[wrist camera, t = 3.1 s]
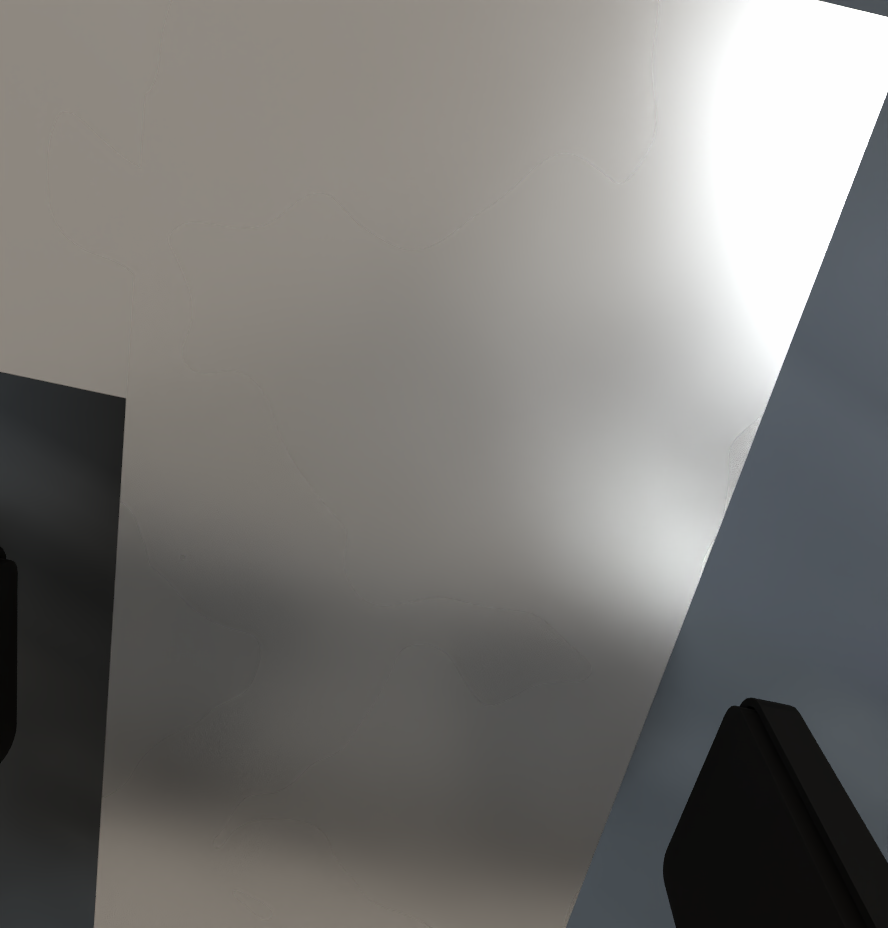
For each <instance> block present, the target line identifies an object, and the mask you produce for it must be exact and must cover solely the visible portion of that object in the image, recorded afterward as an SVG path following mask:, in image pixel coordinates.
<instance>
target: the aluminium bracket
mask: <svg viewBox="0 0 888 928" xmlns="http://www.w3.org/2000/svg"><path fill="white" fill-rule="evenodd" d="M887 91H888V17H884V16H880V15H876V14H872V13H868V12H863V11H859V10H855V9H851V8H847V7H843V6H839V5H834V4H830V3H826V2H822V1H818V0H0V372H4V373H9V374H14V375H18V376H23V377H28V378H32V379H37V380H42V381H47V382H51V383H56V384H61V385H66V386H70V387H75V388H80V389H85V390H89V391H94V392H99V393H104V394H108V395H113V396H118V397H122V398H126V410H125V426H124V443H123V459H122V476H121V492H120V508H119V525H118V541H117V558H116V574H115V591H114V607H113V623H112V640H111V656H110V673H109V689H108V705H107V722H106V738H105V755H104V771H103V788H102V804H101V820H100V837H99V853H98V870H97V886H96V902H95V919H94V928H566V925H567V923H568V920H569V917H570V915H571V912H572V910H573V907H574V904H575V902H576V899H577V897H578V894H579V891H580V889H581V886H582V884H583V881H584V878H585V876H586V873H587V871H588V868H589V865H590V863H591V860H592V858H593V855H594V852H595V850H596V847H597V845H598V842H599V839H600V837H601V834H602V832H603V829H604V826H605V824H606V821H607V819H608V816H609V813H610V811H611V808H612V806H613V803H614V800H615V798H616V795H617V793H618V790H619V787H620V785H621V782H622V780H623V777H624V774H625V772H626V769H627V767H628V764H629V761H630V759H631V756H632V754H633V751H634V748H635V746H636V743H637V741H638V738H639V735H640V733H641V730H642V728H643V725H644V722H645V720H646V717H647V715H648V712H649V710H650V707H651V704H652V702H653V699H654V697H655V694H656V691H657V689H658V686H659V684H660V681H661V678H662V676H663V673H664V671H665V668H666V665H667V663H668V660H669V658H670V655H671V652H672V650H673V647H674V645H675V642H676V639H677V637H678V634H679V632H680V629H681V626H682V624H683V621H684V619H685V616H686V613H687V611H688V608H689V606H690V603H691V600H692V598H693V595H694V593H695V590H696V587H697V585H698V582H699V580H700V577H701V574H702V572H703V569H704V567H705V564H706V561H707V559H708V556H709V554H710V551H711V548H712V546H713V543H714V541H715V538H716V535H717V533H718V530H719V528H720V525H721V522H722V520H723V517H724V515H725V512H726V509H727V507H728V504H729V502H730V499H731V496H732V494H733V491H734V489H735V486H736V483H737V481H738V478H739V476H740V473H741V470H742V468H743V465H744V463H745V460H746V457H747V455H748V452H749V450H750V447H751V444H752V442H753V439H754V437H755V434H756V431H757V429H758V426H759V424H760V421H761V418H762V416H763V413H764V411H765V408H766V405H767V403H768V400H769V398H770V395H771V392H772V390H773V387H774V385H775V382H776V379H777V377H778V374H779V372H780V369H781V367H782V364H783V361H784V359H785V356H786V354H787V351H788V348H789V346H790V343H791V341H792V338H793V335H794V333H795V330H796V328H797V325H798V322H799V320H800V317H801V315H802V312H803V309H804V307H805V304H806V302H807V299H808V296H809V294H810V291H811V289H812V286H813V283H814V281H815V278H816V276H817V273H818V270H819V268H820V265H821V263H822V260H823V257H824V255H825V252H826V250H827V247H828V244H829V242H830V239H831V237H832V234H833V231H834V229H835V226H836V224H837V221H838V218H839V216H840V213H841V211H842V208H843V205H844V203H845V200H846V198H847V195H848V192H849V190H850V187H851V185H852V182H853V179H854V177H855V174H856V172H857V169H858V166H859V164H860V161H861V159H862V156H863V153H864V151H865V148H866V146H867V143H868V140H869V138H870V135H871V133H872V130H873V127H874V125H875V122H876V120H877V117H878V114H879V112H880V109H881V107H882V104H883V101H884V99H885V96H886V94H887Z"/></svg>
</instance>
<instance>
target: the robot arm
mask: <svg viewBox="0 0 888 928" xmlns="http://www.w3.org/2000/svg"><path fill="white" fill-rule="evenodd" d="M17 577H18V572H17V566H16V564H15V562H14V561H12V560H8V559H6V554H5V552H4V549H3V548H1V547H0V763H1V762H2V760H3V759H4V758H5V756H6V755H7V753H8V751H9V749H10V747H11V745H12V743H13V740H14V737H15V733H16V725H17ZM663 877H664V883H665V887H666V891H667V895H668V899H669V903H670V906H671V910H672V914H673V918H674V922H675V925H676V928H888V863H887V861H886V859H885V858H884V856H883V854H882V853H881V851H880V849H879V847H878V846H877V844H876V842H875V841H874V839H873V837H872V836H871V834H870V832H869V830H868V829H867V827H866V825H865V824H864V822H863V820H862V819H861V817H860V815H859V813H858V812H857V810H856V808H855V807H854V805H853V803H852V801H851V800H850V798H849V796H848V795H847V793H846V791H845V790H844V788H843V786H842V784H841V783H840V781H839V779H838V778H837V776H836V774H835V773H834V771H833V769H832V767H831V766H830V764H829V762H828V761H827V759H826V757H825V755H824V754H823V752H822V750H821V749H820V747H819V745H818V744H817V742H816V740H815V738H814V737H813V735H812V733H811V732H810V730H809V728H808V727H807V725H806V723H805V721H804V720H803V718H802V716H801V715H800V713H799V712H798V711H797V709H796V708H795V707H792V706H790V705H785V704H780V703H776V702H771V701H766V700H761V699H756V698H747V699H745V700H744V701H743V702H742V703H741V705H740V707H739V706H731V707H730V708H729V709H728V710H727V712H726V714H725V716H724V718H723V721H722V723H721V725H720V727H719V730H718V732H717V734H716V737H715V739H714V741H713V744H712V746H711V748H710V751H709V753H708V755H707V758H706V760H705V762H704V765H703V767H702V769H701V771H700V774H699V776H698V778H697V781H696V783H695V785H694V788H693V790H692V792H691V795H690V797H689V799H688V802H687V804H686V806H685V809H684V811H683V813H682V815H681V818H680V820H679V822H678V825H677V827H676V829H675V832H674V834H673V836H672V839H671V841H670V843H669V846H668V848H667V850H666V853H665V857H664V864H663Z"/></svg>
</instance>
